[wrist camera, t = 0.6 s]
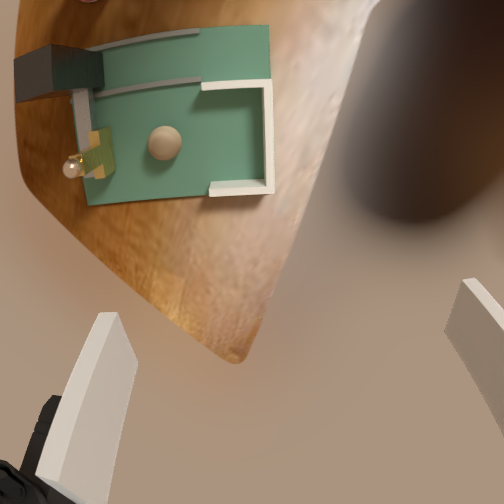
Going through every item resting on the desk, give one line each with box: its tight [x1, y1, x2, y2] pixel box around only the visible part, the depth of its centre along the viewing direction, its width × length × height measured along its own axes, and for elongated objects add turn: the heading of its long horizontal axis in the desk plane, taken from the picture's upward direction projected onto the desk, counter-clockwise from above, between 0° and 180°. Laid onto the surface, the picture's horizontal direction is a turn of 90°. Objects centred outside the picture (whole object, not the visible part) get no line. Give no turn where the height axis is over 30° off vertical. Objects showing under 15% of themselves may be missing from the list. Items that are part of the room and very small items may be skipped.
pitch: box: [70, 25, 271, 206], centre depth 31 cm, size 18×22×1 cm
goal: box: [201, 79, 275, 197], centre depth 31 cm, size 12×7×4 cm, turn 2°
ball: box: [147, 126, 182, 160], centre depth 31 cm, size 4×4×4 cm
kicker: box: [14, 44, 116, 179], centre depth 25 cm, size 14×4×11 cm, turn 2°
